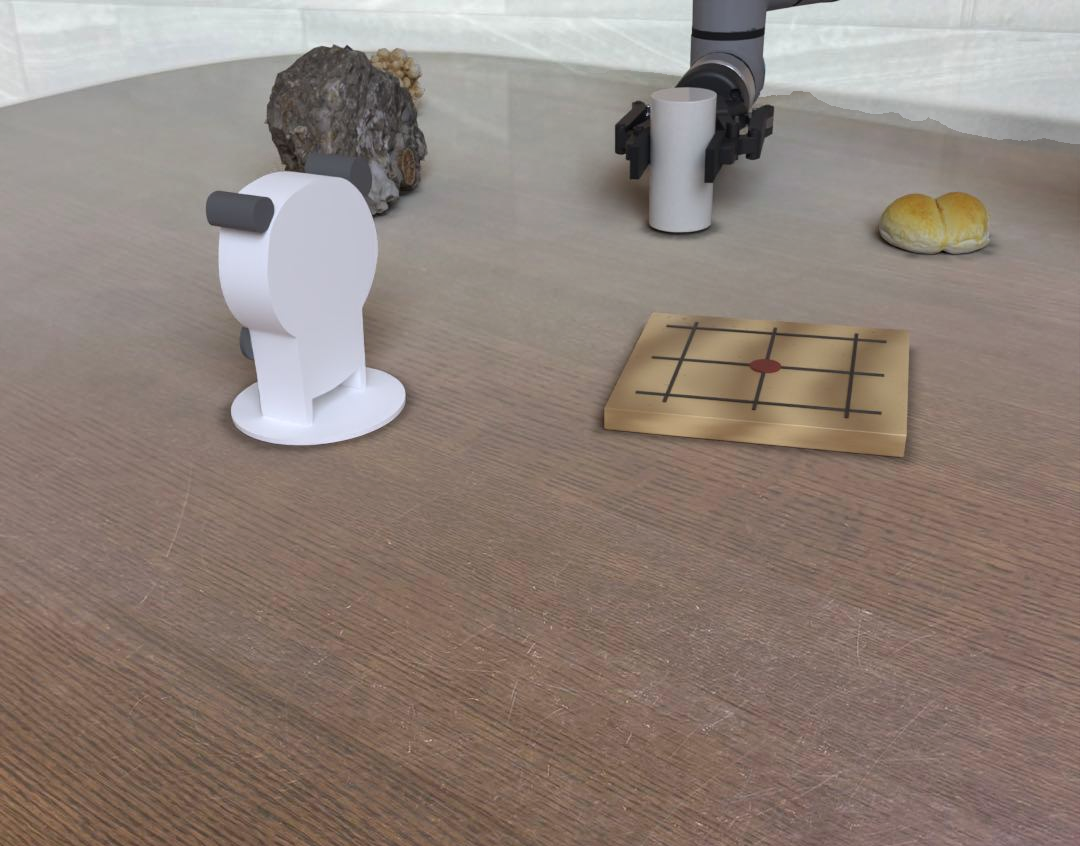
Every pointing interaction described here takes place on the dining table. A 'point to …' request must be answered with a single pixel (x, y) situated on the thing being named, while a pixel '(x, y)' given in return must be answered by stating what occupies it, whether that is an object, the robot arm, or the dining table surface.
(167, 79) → the dining table surface
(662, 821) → the dining table surface
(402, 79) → the mineral formation
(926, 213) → the bread roll
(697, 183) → the white tube
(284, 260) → the white plastic upright piece
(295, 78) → the rock
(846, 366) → the game board
